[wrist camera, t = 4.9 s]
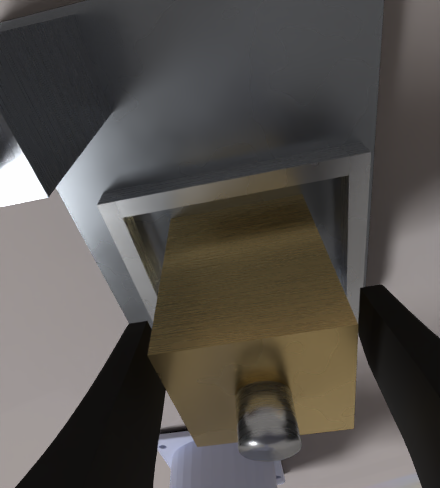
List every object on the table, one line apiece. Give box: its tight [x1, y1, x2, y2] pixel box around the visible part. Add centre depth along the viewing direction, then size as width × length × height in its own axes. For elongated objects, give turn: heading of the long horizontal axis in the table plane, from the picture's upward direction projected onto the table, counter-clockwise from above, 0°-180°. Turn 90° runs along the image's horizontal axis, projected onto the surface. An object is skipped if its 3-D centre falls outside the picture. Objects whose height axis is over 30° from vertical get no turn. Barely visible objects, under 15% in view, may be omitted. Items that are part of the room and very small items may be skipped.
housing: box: [148, 194, 358, 462], centre depth 10 cm, size 4×4×7 cm
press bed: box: [0, 0, 384, 335], centre depth 10 cm, size 14×10×7 cm
